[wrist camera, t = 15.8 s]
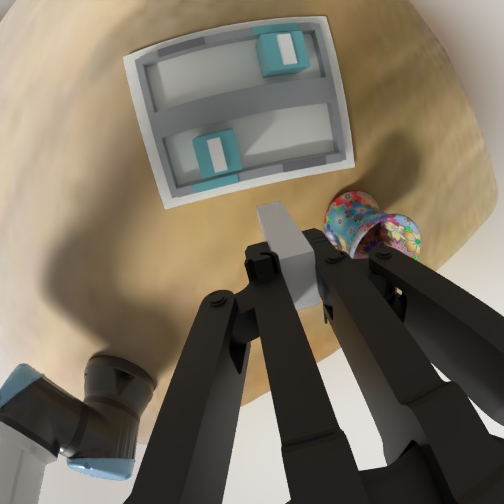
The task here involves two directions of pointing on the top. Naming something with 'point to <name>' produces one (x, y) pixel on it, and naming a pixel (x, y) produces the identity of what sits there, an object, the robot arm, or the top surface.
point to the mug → (368, 227)
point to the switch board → (245, 129)
